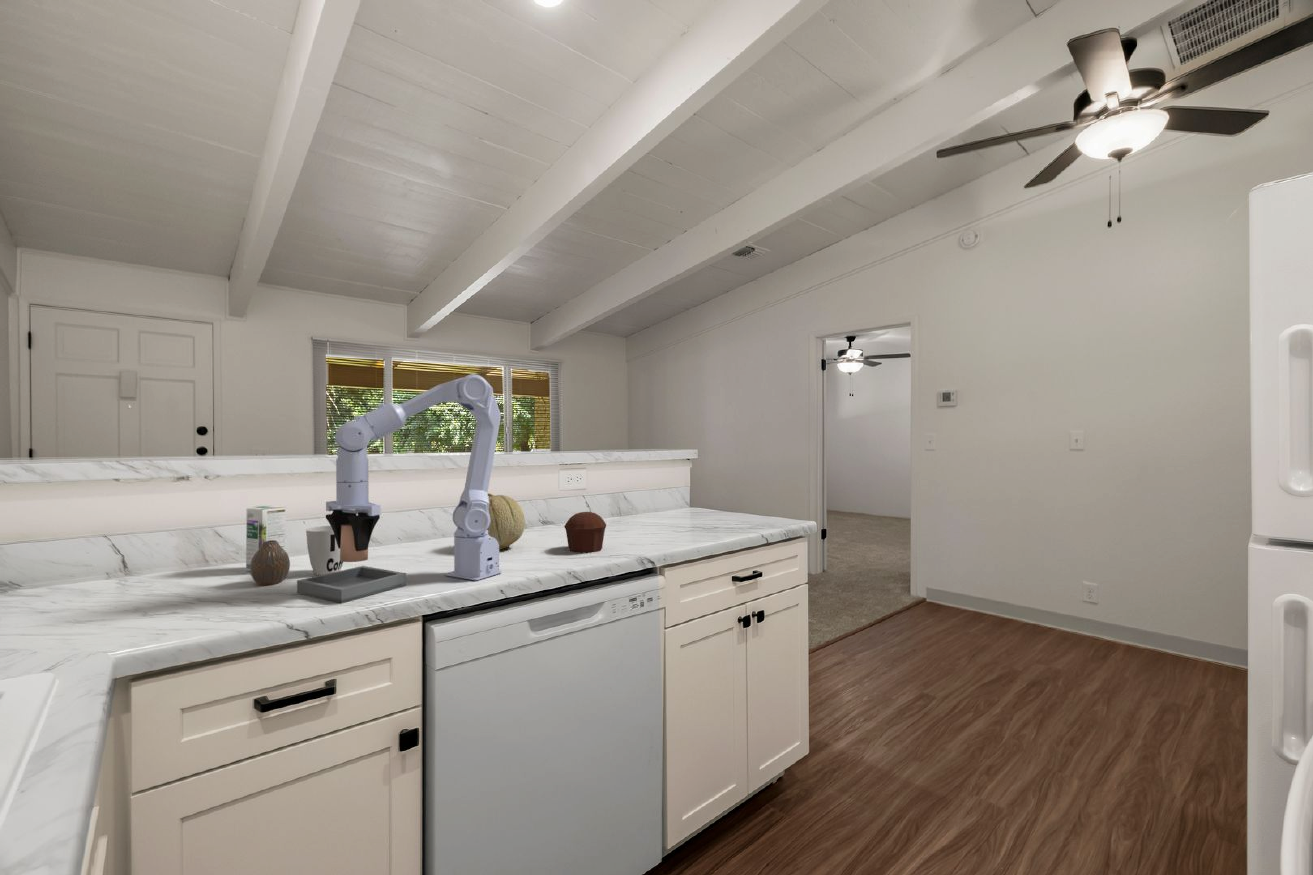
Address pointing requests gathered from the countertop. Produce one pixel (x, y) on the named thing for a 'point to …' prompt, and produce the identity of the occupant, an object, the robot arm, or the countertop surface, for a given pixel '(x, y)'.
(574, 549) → the muffin
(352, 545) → the terracotta cup
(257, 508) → the syrup box
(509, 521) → the cantaloupe
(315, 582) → the grey tray
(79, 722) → the countertop surface
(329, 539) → the cup
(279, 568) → the vase
